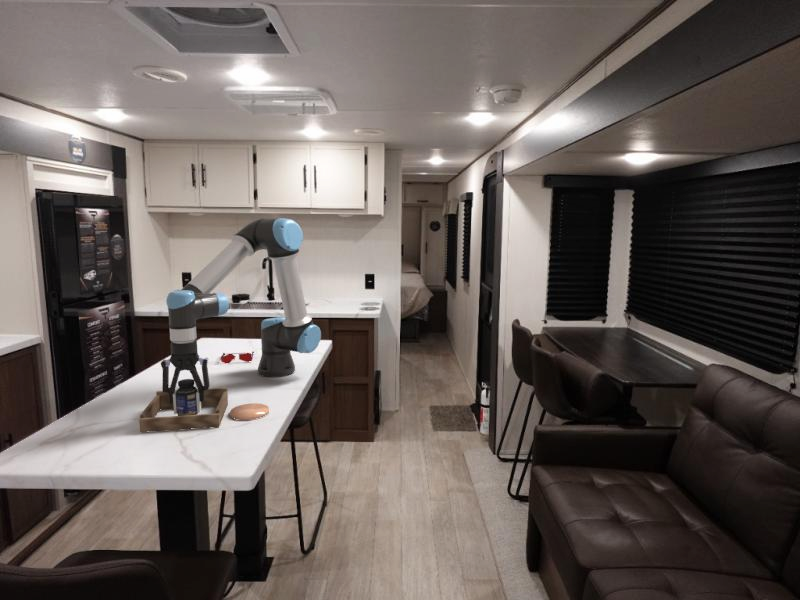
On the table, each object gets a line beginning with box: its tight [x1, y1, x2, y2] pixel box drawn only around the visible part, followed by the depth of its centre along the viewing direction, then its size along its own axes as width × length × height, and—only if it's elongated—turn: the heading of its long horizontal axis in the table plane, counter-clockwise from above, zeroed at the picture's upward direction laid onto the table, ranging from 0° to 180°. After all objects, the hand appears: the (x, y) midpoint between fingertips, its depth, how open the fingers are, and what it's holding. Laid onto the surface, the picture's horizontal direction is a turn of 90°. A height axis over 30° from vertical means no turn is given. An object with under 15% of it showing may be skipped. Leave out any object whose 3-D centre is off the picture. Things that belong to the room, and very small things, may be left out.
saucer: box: [229, 402, 270, 421], centre depth 158 cm, size 12×12×1 cm
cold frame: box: [138, 387, 229, 433], centre depth 154 cm, size 22×20×6 cm
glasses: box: [220, 351, 255, 364], centre depth 225 cm, size 14×16×5 cm
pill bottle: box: [176, 378, 199, 416], centre depth 154 cm, size 6×6×11 cm
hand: (187, 411), depth 154 cm, fingers closed on pill bottle, 6 cm apart
